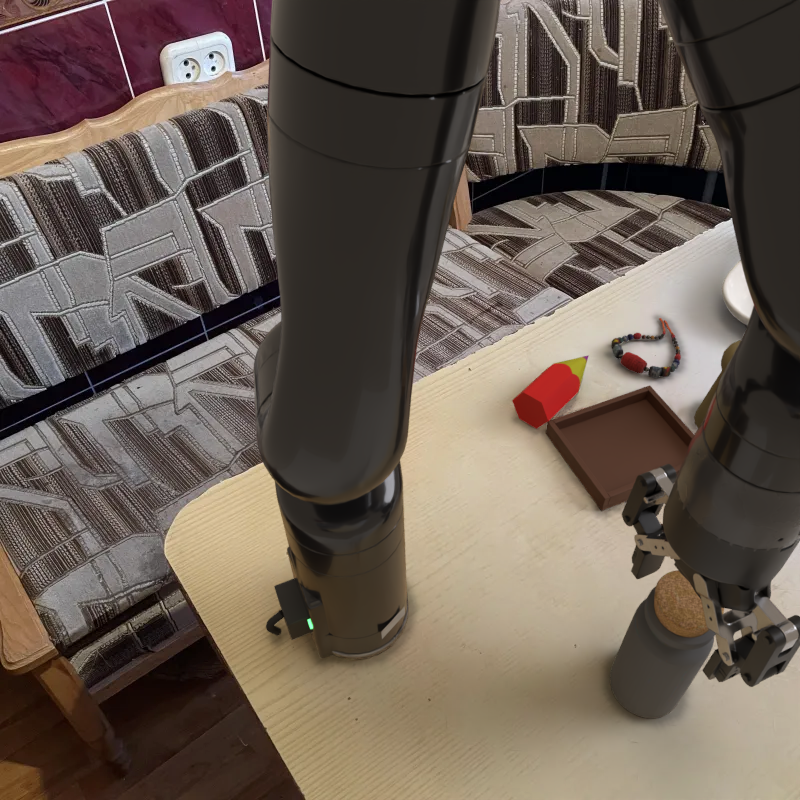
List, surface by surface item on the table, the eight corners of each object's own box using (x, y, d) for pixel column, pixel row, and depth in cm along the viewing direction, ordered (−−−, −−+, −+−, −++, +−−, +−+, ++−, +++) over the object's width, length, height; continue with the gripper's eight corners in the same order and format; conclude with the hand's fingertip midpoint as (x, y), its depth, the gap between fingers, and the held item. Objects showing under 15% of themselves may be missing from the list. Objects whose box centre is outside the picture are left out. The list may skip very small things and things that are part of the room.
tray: (601, 511, 76) (605, 499, 75) (544, 433, 83) (547, 420, 82) (709, 469, 79) (714, 456, 78) (645, 397, 86) (650, 384, 85)
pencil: (603, 377, 89) (610, 351, 86) (545, 434, 83) (551, 408, 80) (568, 359, 91) (574, 333, 88) (509, 413, 85) (513, 386, 82)
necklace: (598, 357, 91) (602, 345, 89) (643, 317, 97) (648, 304, 96) (658, 390, 87) (664, 377, 86) (701, 346, 93) (706, 333, 92)
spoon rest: (809, 358, 90) (832, 312, 85) (706, 333, 94) (722, 286, 88) (825, 250, 104) (846, 205, 99) (736, 232, 108) (751, 187, 103)
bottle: (681, 725, 62) (737, 645, 51) (608, 711, 63) (647, 629, 52) (678, 657, 66) (729, 569, 55) (609, 645, 67) (646, 556, 55)
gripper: (619, 426, 47) (582, 560, 59) (781, 619, 38) (699, 731, 50) (717, 389, 49) (662, 526, 61) (893, 565, 40) (788, 686, 52)
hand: (679, 619), depth 56 cm, fingers open, 8 cm apart
